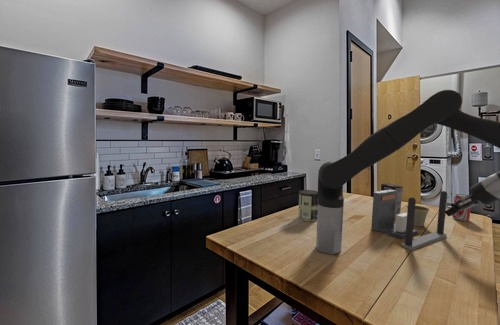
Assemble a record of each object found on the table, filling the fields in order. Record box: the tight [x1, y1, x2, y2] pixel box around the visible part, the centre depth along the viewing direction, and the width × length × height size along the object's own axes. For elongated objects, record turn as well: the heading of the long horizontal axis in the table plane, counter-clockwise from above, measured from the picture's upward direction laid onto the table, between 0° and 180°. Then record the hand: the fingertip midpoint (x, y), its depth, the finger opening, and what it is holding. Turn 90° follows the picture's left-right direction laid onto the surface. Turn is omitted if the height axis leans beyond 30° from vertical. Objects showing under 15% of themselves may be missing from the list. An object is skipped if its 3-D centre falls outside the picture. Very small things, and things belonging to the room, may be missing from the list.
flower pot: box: [406, 204, 430, 228], centre depth 126 cm, size 9×9×9 cm
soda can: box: [452, 193, 472, 222], centre depth 135 cm, size 7×7×13 cm
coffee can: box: [298, 189, 318, 222], centre depth 133 cm, size 10×10×14 cm
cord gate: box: [400, 190, 448, 251], centre depth 105 cm, size 4×27×20 cm, turn 120°
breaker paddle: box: [394, 212, 407, 233], centre depth 113 cm, size 3×8×7 cm, turn 120°
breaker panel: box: [371, 190, 419, 240], centre depth 116 cm, size 14×13×18 cm
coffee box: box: [380, 183, 403, 216], centre depth 145 cm, size 9×6×16 cm
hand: (447, 213), depth 99 cm, fingers closed
